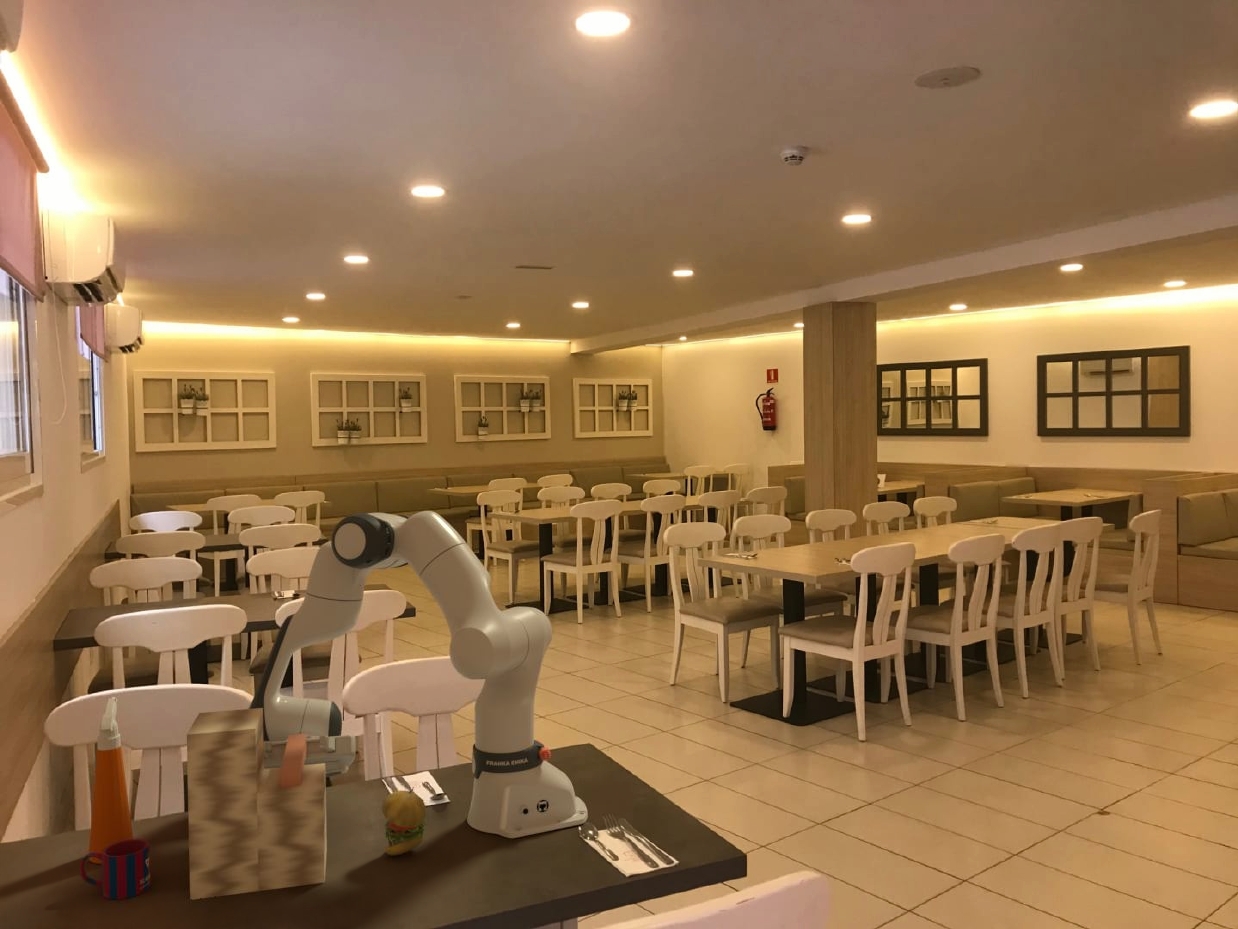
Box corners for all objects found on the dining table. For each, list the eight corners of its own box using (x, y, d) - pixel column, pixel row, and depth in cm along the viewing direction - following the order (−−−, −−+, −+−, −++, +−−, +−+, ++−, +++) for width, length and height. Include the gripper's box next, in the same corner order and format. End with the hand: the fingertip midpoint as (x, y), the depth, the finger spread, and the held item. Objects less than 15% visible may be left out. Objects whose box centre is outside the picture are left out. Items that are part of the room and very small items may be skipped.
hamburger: (403, 841, 167) (402, 774, 167) (435, 849, 164) (434, 781, 164) (373, 859, 161) (372, 789, 160) (406, 867, 157) (405, 796, 157)
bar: (306, 750, 170) (306, 734, 170) (300, 785, 153) (299, 767, 153) (289, 752, 169) (288, 735, 169) (280, 787, 152) (280, 769, 152)
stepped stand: (326, 851, 164) (324, 703, 163) (324, 882, 152) (321, 723, 151) (202, 866, 158) (199, 713, 158) (190, 900, 147) (186, 734, 146)
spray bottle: (139, 836, 171) (136, 691, 170) (131, 860, 161) (128, 707, 160) (95, 842, 168) (92, 696, 168) (84, 867, 158) (81, 712, 158)
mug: (139, 899, 147) (138, 856, 147) (73, 902, 147) (72, 858, 146) (157, 879, 154) (156, 837, 154) (93, 882, 153) (92, 840, 153)
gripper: (241, 748, 175) (232, 730, 164) (355, 738, 181) (354, 720, 169) (240, 783, 172) (231, 767, 161) (356, 771, 178) (355, 755, 166)
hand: (295, 743), depth 165 cm, fingers open, 8 cm apart
